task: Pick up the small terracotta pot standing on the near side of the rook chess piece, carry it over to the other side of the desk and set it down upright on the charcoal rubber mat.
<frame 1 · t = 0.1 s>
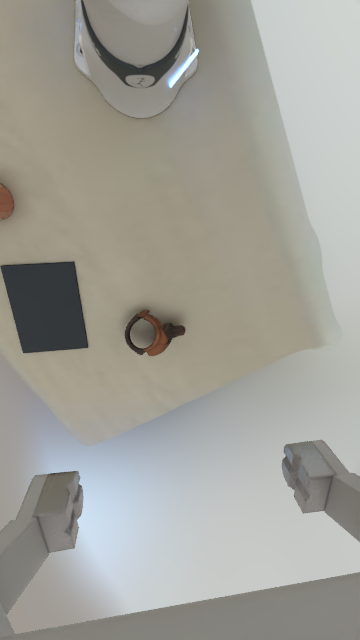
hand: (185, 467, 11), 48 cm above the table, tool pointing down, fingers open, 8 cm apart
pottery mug: (155, 328, 61), on the table
mat: (48, 309, 56), on the table
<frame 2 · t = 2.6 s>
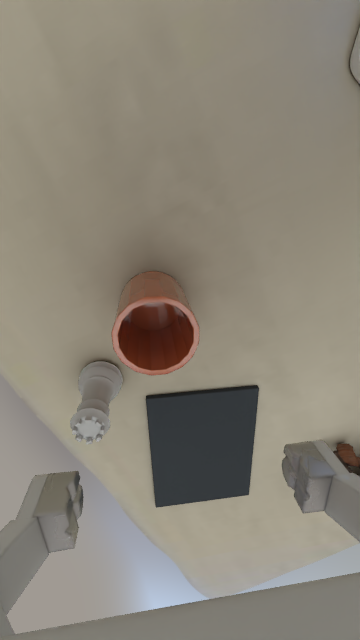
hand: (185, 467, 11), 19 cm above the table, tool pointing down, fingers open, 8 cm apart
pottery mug: (346, 462, 41), on the table
mat: (202, 448, 36), on the table
pot: (153, 302, 28), on the table
rook chess piece: (102, 375, 30), on the table
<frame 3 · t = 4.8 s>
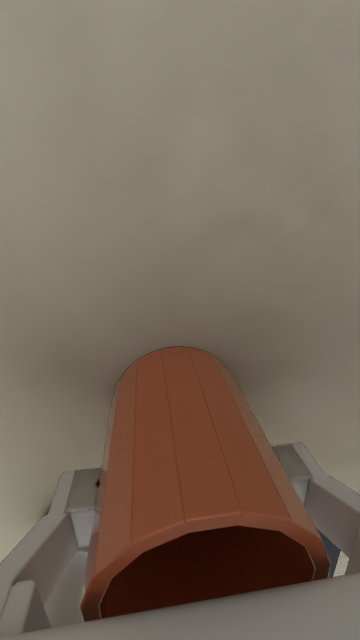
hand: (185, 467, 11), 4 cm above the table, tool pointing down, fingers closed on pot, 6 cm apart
mat: (245, 602, 22), on the table
pot: (175, 401, 15), on the table, touching gripper
rook chess piece: (80, 519, 17), on the table
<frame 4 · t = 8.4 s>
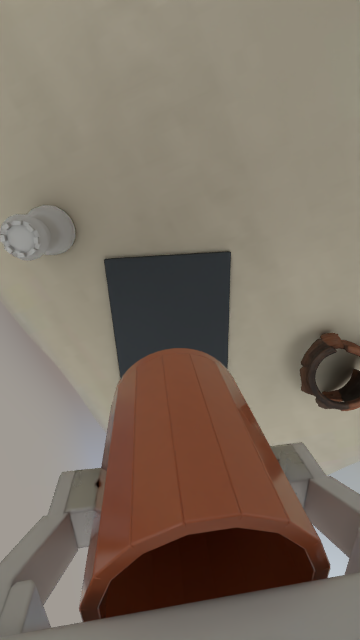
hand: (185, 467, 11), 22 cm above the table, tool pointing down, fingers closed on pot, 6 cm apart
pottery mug: (332, 360, 37), on the table
mat: (172, 333, 33), on the table
pot: (175, 402, 15), point 18 cm above the table, touching gripper
rook chess piece: (53, 229, 27), on the table
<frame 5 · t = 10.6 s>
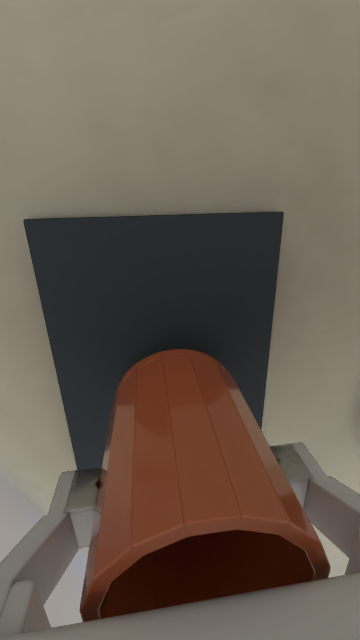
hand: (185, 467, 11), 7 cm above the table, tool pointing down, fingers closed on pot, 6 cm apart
mat: (166, 366, 18), on the table
pot: (176, 403, 15), point 4 cm above the table, touching gripper
when the fingers open (4 cm above the table, at t = 12.1 s): pot stays where it is, resting on mat.
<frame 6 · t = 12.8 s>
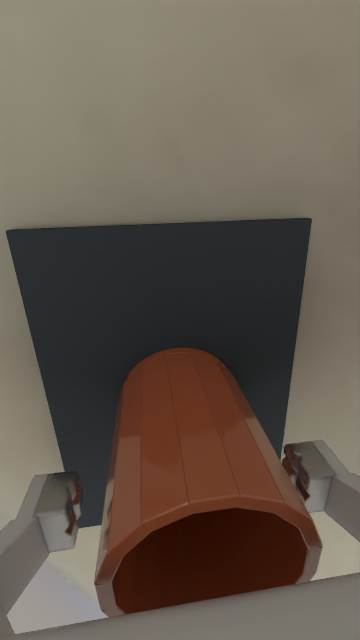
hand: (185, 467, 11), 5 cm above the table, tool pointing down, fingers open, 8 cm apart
mat: (174, 393, 16), on the table
pot: (178, 399, 15), point 1 cm above the table, touching mat
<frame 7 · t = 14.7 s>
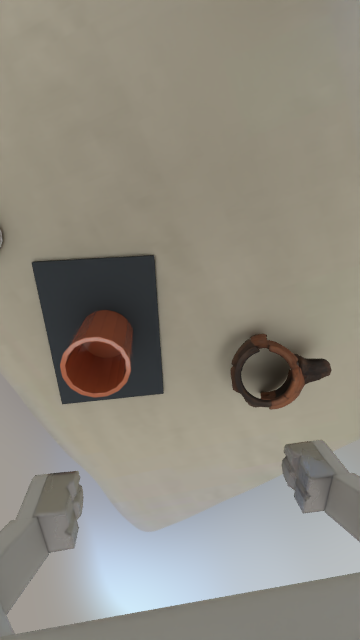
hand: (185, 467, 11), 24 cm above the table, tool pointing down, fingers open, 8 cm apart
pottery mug: (267, 361, 39), on the table
mat: (105, 333, 34), on the table
pot: (106, 335, 34), point 1 cm above the table, touching mat
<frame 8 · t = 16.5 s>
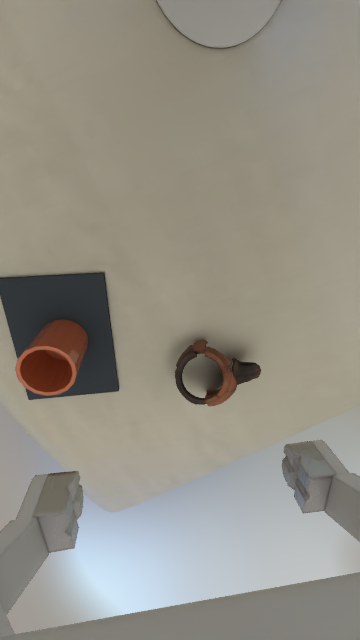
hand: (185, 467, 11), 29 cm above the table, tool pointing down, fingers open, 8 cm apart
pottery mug: (211, 363, 44), on the table
mat: (64, 339, 39), on the table
pot: (64, 340, 39), point 1 cm above the table, touching mat
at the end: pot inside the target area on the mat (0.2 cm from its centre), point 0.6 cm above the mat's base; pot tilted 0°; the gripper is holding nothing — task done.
